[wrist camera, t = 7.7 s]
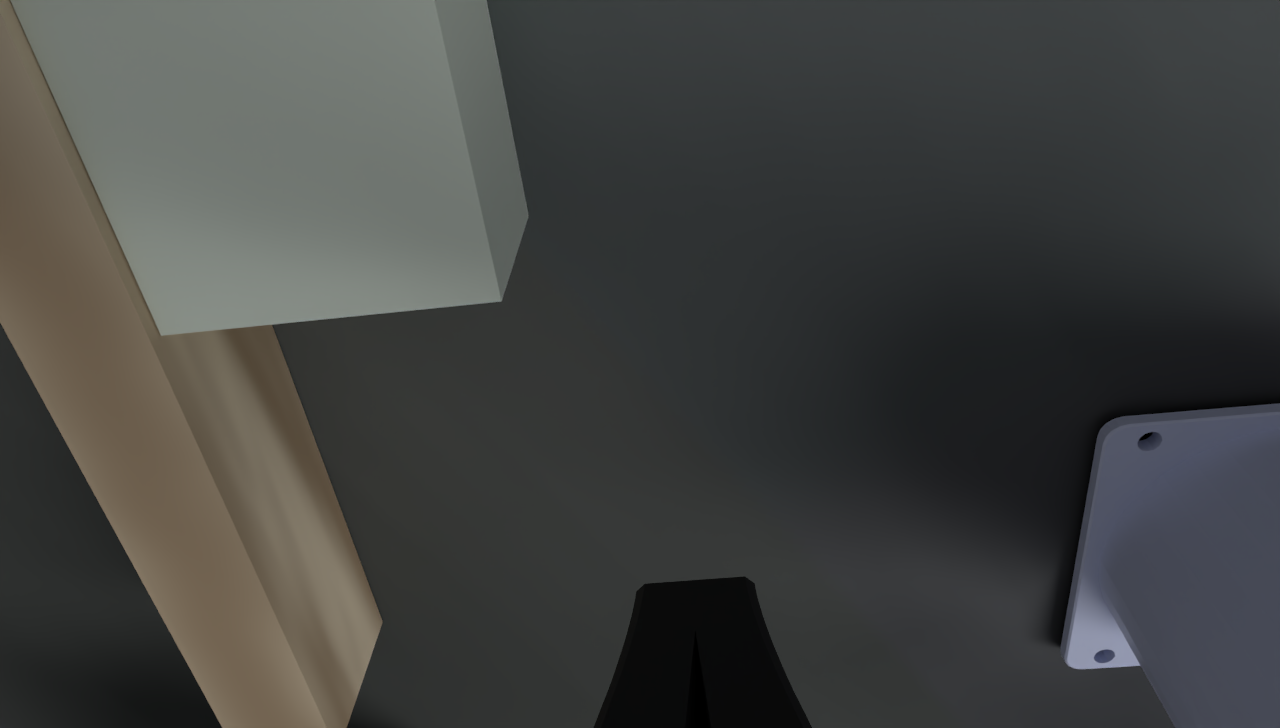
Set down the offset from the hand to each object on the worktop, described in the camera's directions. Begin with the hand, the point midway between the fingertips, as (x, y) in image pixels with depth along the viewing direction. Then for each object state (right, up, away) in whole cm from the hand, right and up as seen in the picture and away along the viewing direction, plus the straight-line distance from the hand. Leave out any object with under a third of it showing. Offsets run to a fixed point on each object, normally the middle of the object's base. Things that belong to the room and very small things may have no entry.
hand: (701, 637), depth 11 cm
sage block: (-7, +10, +6) cm, 13 cm away
